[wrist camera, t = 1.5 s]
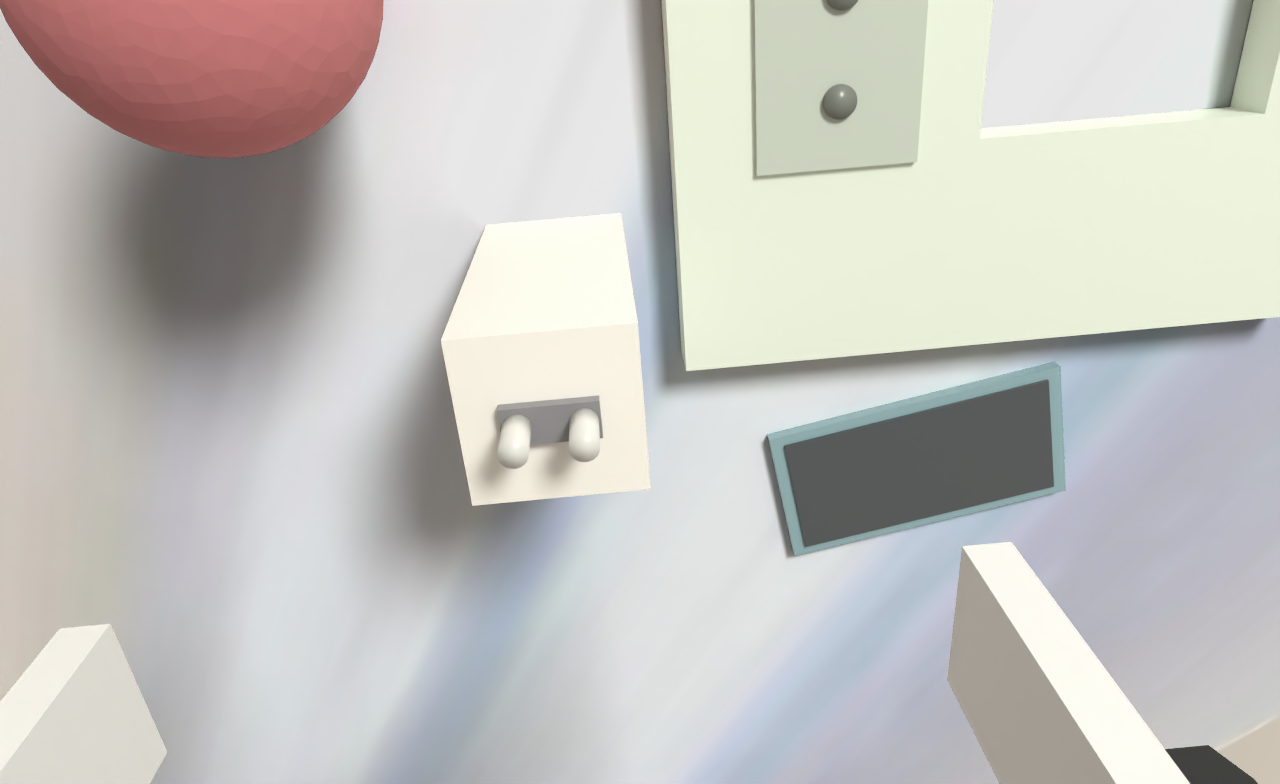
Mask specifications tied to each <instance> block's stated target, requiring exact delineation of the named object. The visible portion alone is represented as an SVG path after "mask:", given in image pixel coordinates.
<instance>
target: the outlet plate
mask: <svg viewBox="0 0 1280 784" xmlns="http://www.w3.org/2000/svg"><path fill="white" fill-rule="evenodd" d="M661 1H662V18H663V36H664V54H665V71H666V89H667V106H668V124H669V142H670V159H671V177H672V194H673V212H674V230H675V247H676V265H677V283H678V300H679V318H680V335H681V353H682V357H683V361H684V364H685V368H686V371H694V370H705V369H716V368H727V367H738V366H749V365H760V364H771V363H782V362H792V361H803V360H814V359H825V358H836V357H847V356H858V355H869V354H880V353H891V352H901V351H912V350H923V349H934V348H945V347H956V346H967V345H978V344H989V343H1000V342H1011V341H1021V340H1032V339H1043V338H1054V337H1065V336H1076V335H1087V334H1098V333H1109V332H1120V331H1130V330H1141V329H1152V328H1163V327H1174V326H1185V325H1196V324H1207V323H1218V322H1229V321H1240V320H1250V319H1261V318H1272V317H1280V0H1254V1H1253V6H1252V10H1251V15H1250V19H1249V24H1248V28H1247V33H1246V37H1245V42H1244V47H1243V51H1242V56H1241V60H1240V65H1239V69H1238V74H1237V78H1236V83H1235V87H1234V92H1233V96H1232V101H1231V105H1230V107H1224V108H1212V109H1201V110H1189V111H1177V112H1166V113H1154V114H1143V115H1131V116H1120V117H1108V118H1097V119H1085V120H1073V121H1062V122H1050V123H1039V124H1027V125H1016V126H1004V127H992V128H981V123H982V113H983V103H984V93H985V83H986V73H987V63H988V53H989V43H990V33H991V23H992V13H993V2H994V0H661Z"/></svg>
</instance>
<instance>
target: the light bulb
mask: <svg viewBox="0 0 1280 784" xmlns="http://www.w3.org/2000/svg"><path fill="white" fill-rule="evenodd" d="M0 8H1V11H2V13H3V15H4V17H5V19H6V22H7V23H8V25H9V27H10V28H11V30H12V32H13V33H14V35H15V36H16V38H17V40H18V41H19V43H20V44H21V46H22V47H23V48H24V50H25V51H26V52H27V54H28V55H29V56H30V58H31V59H32V60H33V62H34V63H35V64H36V66H37V67H38V68H39V69H40V70H41V71H42V72H43V73H44V74H45V75H46V76H47V77H48V78H49V80H50V81H51V82H52V83H53V84H54V85H55V86H56V87H57V88H58V89H59V90H60V91H61V92H63V93H64V94H65V95H66V96H68V97H69V98H70V99H71V100H72V101H74V102H75V103H76V104H77V105H79V106H80V107H81V108H82V109H83V110H85V111H86V112H87V113H88V114H90V115H92V116H93V117H95V118H96V119H98V120H100V121H101V122H103V123H105V124H106V125H108V126H110V127H111V128H113V129H114V130H116V131H118V132H121V133H123V134H125V135H127V136H129V137H132V138H134V139H136V140H139V141H141V142H143V143H146V144H148V145H151V146H154V147H157V148H160V149H163V150H167V151H172V152H177V153H182V154H187V155H192V156H197V157H211V158H235V157H246V156H253V155H260V154H264V153H267V152H271V151H275V150H279V149H282V148H284V147H286V146H289V145H291V144H293V143H296V142H298V141H300V140H302V139H304V138H306V137H308V136H310V135H311V134H313V133H315V132H316V131H317V130H319V129H320V128H321V127H323V126H324V125H325V124H327V123H328V122H329V121H330V120H331V119H332V118H333V117H334V116H336V115H337V114H338V113H339V112H340V111H341V110H342V109H343V108H344V107H345V106H346V104H347V103H348V102H349V101H350V100H351V98H352V97H353V95H354V94H355V92H356V91H357V89H358V88H359V86H360V85H361V83H362V82H363V80H364V79H365V77H366V74H367V72H368V70H369V68H370V65H371V63H372V61H373V59H374V55H375V52H376V49H377V46H378V42H379V37H380V31H381V25H382V20H383V0H0Z"/></svg>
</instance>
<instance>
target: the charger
mask: <svg viewBox="0 0 1280 784" xmlns="http://www.w3.org/2000/svg"><path fill="white" fill-rule="evenodd" d="M441 345H442V350H443V355H444V360H445V366H446V371H447V376H448V381H449V386H450V392H451V397H452V402H453V407H454V413H455V418H456V423H457V428H458V434H459V439H460V444H461V449H462V454H463V460H464V465H465V470H466V475H467V481H468V486H469V491H470V496H471V502H472V506H476V505H486V504H497V503H508V502H518V501H529V500H539V499H550V498H561V497H571V496H582V495H593V494H603V493H614V492H625V491H635V490H646V489H651V484H650V471H649V459H648V446H647V434H646V421H645V409H644V396H643V384H642V371H641V359H640V346H639V334H638V322H637V316H636V309H635V302H634V296H633V289H632V283H631V276H630V269H629V263H628V256H627V249H626V243H625V236H624V230H623V223H622V216H621V213H616V214H604V215H593V216H582V217H570V218H559V219H547V220H536V221H524V222H513V223H502V224H490V225H486V226H485V229H484V231H483V234H482V237H481V239H480V242H479V244H478V247H477V249H476V252H475V254H474V257H473V260H472V262H471V265H470V267H469V270H468V272H467V275H466V277H465V280H464V283H463V285H462V288H461V290H460V293H459V295H458V298H457V300H456V303H455V305H454V308H453V311H452V313H451V316H450V318H449V321H448V323H447V326H446V328H445V331H444V334H443V336H442V339H441Z"/></svg>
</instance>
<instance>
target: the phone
mask: <svg viewBox="0 0 1280 784" xmlns="http://www.w3.org/2000/svg"><path fill="white" fill-rule="evenodd" d="M767 436H768V441H769V445H770V450H771V454H772V459H773V464H774V468H775V473H776V477H777V482H778V486H779V491H780V495H781V500H782V504H783V509H784V514H785V518H786V523H787V527H788V532H789V536H790V541H791V545H792V550H793V553H794V555H795V556H798V555H802V554H806V553H810V552H814V551H818V550H822V549H826V548H830V547H835V546H839V545H843V544H847V543H851V542H855V541H859V540H863V539H867V538H872V537H876V536H880V535H884V534H888V533H892V532H896V531H900V530H904V529H909V528H913V527H917V526H921V525H925V524H929V523H933V522H937V521H941V520H945V519H950V518H954V517H958V516H962V515H966V514H970V513H974V512H978V511H982V510H987V509H991V508H995V507H999V506H1003V505H1007V504H1011V503H1015V502H1019V501H1024V500H1028V499H1032V498H1036V497H1040V496H1044V495H1048V494H1052V493H1056V492H1061V491H1065V490H1066V489H1065V465H1064V441H1063V417H1062V394H1061V370H1060V366H1059V365H1058V364H1057V363H1056V362H1051V363H1047V364H1043V365H1039V366H1035V367H1031V368H1027V369H1023V370H1019V371H1015V372H1011V373H1007V374H1004V375H1000V376H996V377H992V378H988V379H984V380H980V381H976V382H972V383H968V384H964V385H960V386H956V387H952V388H948V389H944V390H940V391H936V392H932V393H929V394H925V395H921V396H917V397H913V398H909V399H905V400H901V401H897V402H893V403H889V404H885V405H881V406H877V407H873V408H869V409H865V410H861V411H857V412H854V413H850V414H846V415H842V416H838V417H834V418H830V419H826V420H822V421H818V422H814V423H810V424H806V425H802V426H798V427H794V428H790V429H786V430H782V431H779V432H775V433H771V434H767Z"/></svg>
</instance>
